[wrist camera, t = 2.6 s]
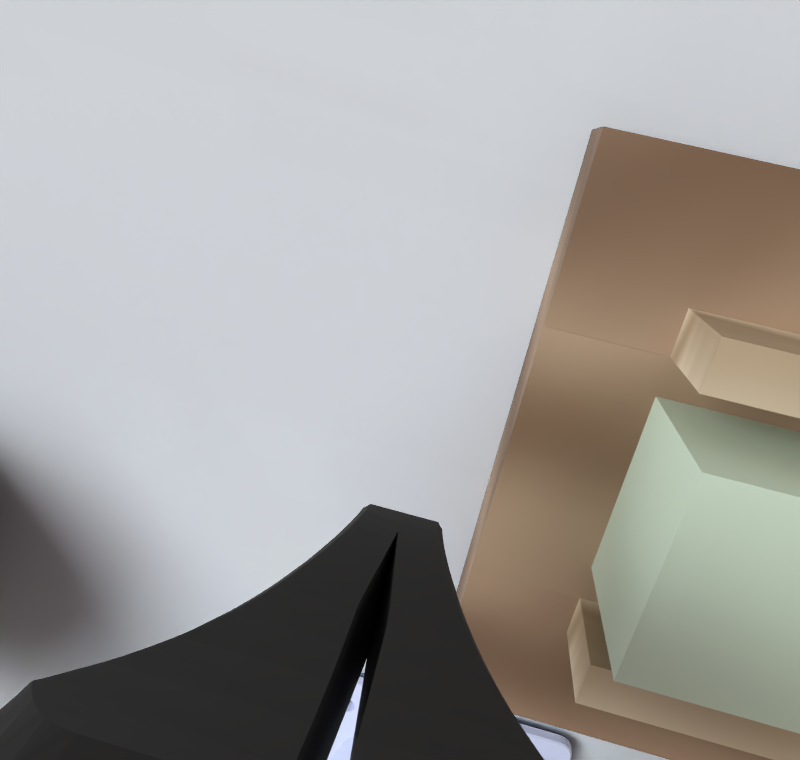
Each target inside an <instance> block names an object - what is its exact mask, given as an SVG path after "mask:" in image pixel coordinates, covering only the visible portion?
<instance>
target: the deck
mask: <svg viewBox="0 0 800 760" xmlns="http://www.w3.org/2000/svg"><path fill="white" fill-rule="evenodd" d="M655 397H660V398H664V399H668V400H672V401H676V402H680V403H684V404H688V405H692V406H696V407H700V408H705V409H709V410H713V411H717V412H721V413H725V414H729V415H733V416H737V417H741V418H745V419H749V420H753V421H757V422H761V423H765V424H769V425H773V426H777V427H781V428H785V429H789V430H793V431H797V432H800V169H795V168H790V167H786V166H781V165H777V164H772V163H768V162H763V161H758V160H754V159H749V158H745V157H740V156H736V155H731V154H726V153H722V152H717V151H713V150H708V149H704V148H699V147H694V146H690V145H685V144H681V143H676V142H672V141H667V140H662V139H658V138H653V137H649V136H644V135H640V134H635V133H630V132H626V131H621V130H617V129H612V128H608V127H600V128H597V129H593V130H592V132H591V135H590V139H589V142H588V146H587V149H586V152H585V156H584V159H583V163H582V166H581V169H580V173H579V176H578V180H577V183H576V186H575V190H574V193H573V197H572V200H571V204H570V207H569V210H568V214H567V217H566V221H565V224H564V227H563V231H562V234H561V238H560V241H559V244H558V248H557V251H556V255H555V258H554V261H553V265H552V268H551V272H550V275H549V279H548V282H547V285H546V289H545V292H544V296H543V299H542V302H541V306H540V309H539V313H538V316H537V319H536V323H535V326H534V330H533V333H532V336H531V340H530V343H529V347H528V350H527V354H526V357H525V360H524V364H523V367H522V371H521V374H520V377H519V381H518V384H517V388H516V391H515V394H514V398H513V401H512V405H511V408H510V411H509V415H508V418H507V422H506V425H505V428H504V432H503V435H502V439H501V442H500V446H499V449H498V452H497V456H496V459H495V463H494V466H493V469H492V473H491V476H490V480H489V483H488V486H487V490H486V493H485V497H484V500H483V503H482V507H481V510H480V514H479V517H478V521H477V524H476V527H475V531H474V534H473V538H472V541H471V544H470V548H469V551H468V555H467V558H466V561H465V565H464V568H463V572H462V575H461V578H460V582H459V585H458V589H457V592H456V593H457V596H458V599H459V602H460V605H461V608H462V611H463V614H464V616H465V619H466V621H467V624H468V626H469V629H470V631H471V633H472V636H473V638H474V641H475V643H476V645H477V647H478V650H479V652H480V654H481V656H482V658H483V660H484V662H485V664H486V666H487V668H488V670H489V672H490V674H491V676H492V678H493V680H494V682H495V683H496V685H497V687H498V689H499V691H500V692H501V694H502V696H503V698H504V699H505V701H506V703H507V704H508V706H509V708H510V710H511V711H512V713H513V714H515V715H518V716H522V717H525V718H529V719H532V720H535V721H539V722H542V723H546V724H549V725H553V726H556V727H559V728H563V729H566V730H570V731H573V732H577V733H580V734H584V735H587V736H590V737H594V738H597V739H601V740H604V741H608V742H611V743H614V744H618V745H621V746H625V747H628V748H632V749H635V750H639V751H642V752H645V753H649V754H652V755H656V756H659V757H663V758H666V759H669V760H800V734H799V733H795V732H792V731H788V730H785V729H781V728H778V727H774V726H771V725H767V724H764V723H760V722H757V721H753V720H750V719H746V718H742V717H739V716H735V715H732V714H728V713H725V712H721V711H718V710H714V709H711V708H707V707H704V706H700V705H697V704H693V703H690V702H686V701H682V700H679V699H675V698H672V697H668V696H665V695H661V694H658V693H654V692H651V691H647V690H644V689H640V688H637V687H633V686H630V685H626V684H623V683H619V682H615V681H614V679H613V674H612V669H611V664H610V659H609V654H608V649H607V644H606V639H605V634H604V629H603V624H602V619H601V614H600V609H599V604H598V599H597V594H596V589H595V584H594V579H593V574H592V569H591V567H592V565H593V562H594V559H595V557H596V554H597V551H598V549H599V546H600V543H601V541H602V538H603V535H604V533H605V530H606V527H607V525H608V522H609V519H610V517H611V514H612V511H613V509H614V506H615V503H616V501H617V498H618V495H619V493H620V490H621V487H622V485H623V482H624V479H625V477H626V474H627V471H628V469H629V466H630V464H631V461H632V458H633V456H634V453H635V450H636V448H637V445H638V442H639V440H640V437H641V434H642V432H643V429H644V426H645V424H646V421H647V418H648V416H649V413H650V410H651V408H652V405H653V402H654V400H655Z"/></svg>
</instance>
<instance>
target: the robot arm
mask: <svg viewBox="0 0 800 760" xmlns="http://www.w3.org/2000/svg"><path fill="white" fill-rule="evenodd" d="M366 659H367V661H366ZM365 661H366V667H365V673H364V678H363V677H360V674H361V672H362V669H363V667H364V664H365ZM350 701H352V702H350ZM571 757H572V750H571V744H570V742H569V741H568V740H567V739H566V738H565V737H563V736H561V735H558V734H555V733H551V732H548V731H545V730H541V729H538V728H534V727H531V726H527V725H524V724H521V723H519V722H518V721H517V719H516V718H515V716H514V715H513V713H512V711H511V710H510V708H509V706H508V704H507V703H506V701H505V699H504V698H503V696H502V694H501V692H500V691H499V689H498V687H497V685H496V683H495V682H494V680H493V678H492V676H491V674H490V672H489V670H488V668H487V666H486V664H485V662H484V660H483V658H482V656H481V654H480V652H479V650H478V647H477V645H476V643H475V641H474V638H473V636H472V633H471V631H470V629H469V626H468V624H467V621H466V619H465V616H464V614H463V611H462V608H461V605H460V602H459V599H458V596H457V593H456V590H455V587H454V584H453V581H452V578H451V574H450V571H449V567H448V563H447V558H446V554H445V549H444V544H443V536H442V528H441V527H440V525H439V523H438V522H435V521H432V520H428V519H424V518H420V517H417V516H413V515H409V514H406V513H402V512H398V511H395V510H391V509H387V508H383V507H380V506H376V505H372V504H370V505H368V506H366V507H364V508H363V509H362V510H361V511H360V513H359V514H358V515H357V516H356V517H355V518H354V519H353V520H352V521H351V522H350V523H349V524H348V525H347V526H346V527H345V528H344V529H343V530H342V531H341V532H340V533H339V534H338V535H337V536H336V537H335V538H334V539H332V540H331V541H330V542H329V543H328V544H327V545H325V546H324V547H323V548H322V549H321V550H319V551H318V552H317V553H316V554H315V555H314V556H312V557H311V558H310V559H309V560H307V561H306V562H305V563H303V564H302V565H301V566H299V567H298V568H297V569H295V570H294V571H292V572H291V573H290V574H288V575H287V576H286V577H284V578H283V579H281V580H280V581H279V582H277V583H276V584H274V585H273V586H271V587H270V588H268V589H267V590H265V591H263V592H262V593H260V594H259V595H257V596H255V597H254V598H252V599H250V600H249V601H247V602H245V603H243V604H242V605H240V606H238V607H237V608H235V609H233V610H231V611H229V612H227V613H225V614H223V615H221V616H219V617H217V618H215V619H213V620H211V621H209V622H207V623H205V624H203V625H201V626H199V627H197V628H195V629H193V630H191V631H189V632H186V633H184V634H182V635H179V636H177V637H174V638H172V639H169V640H167V641H164V642H162V643H159V644H156V645H154V646H151V647H148V648H145V649H142V650H140V651H137V652H134V653H131V654H128V655H125V656H122V657H119V658H116V659H113V660H109V661H106V662H103V663H99V664H95V665H92V666H88V667H84V668H80V669H77V670H73V671H69V672H66V673H62V674H58V675H55V676H51V677H47V678H43V679H38V680H34V681H32V682H30V683H29V684H28V685H27V686H26V687H25V688H24V689H23V690H22V691H21V692H20V693H19V694H18V695H17V696H16V697H14V698H13V699H12V700H11V701H10V702H9V703H7V704H6V705H5V706H4V707H3V708H2V709H1V710H0V760H571Z"/></svg>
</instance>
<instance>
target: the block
mask: <svg viewBox="0 0 800 760" xmlns="http://www.w3.org/2000/svg"><path fill="white" fill-rule="evenodd" d="M591 569H592V574H593V579H594V584H595V589H596V594H597V599H598V604H599V609H600V614H601V619H602V624H603V629H604V634H605V639H606V644H607V649H608V654H609V659H610V664H611V669H612V674H613V679H614V681H615V682H619V683H623V684H626V685H630V686H633V687H637V688H640V689H644V690H647V691H651V692H654V693H658V694H661V695H665V696H668V697H672V698H675V699H679V700H682V701H686V702H690V703H693V704H697V705H700V706H704V707H707V708H711V709H714V710H718V711H721V712H725V713H728V714H732V715H735V716H739V717H742V718H746V719H750V720H753V721H757V722H760V723H764V724H767V725H771V726H774V727H778V728H781V729H785V730H788V731H792V732H795V733H799V734H800V432H797V431H793V430H789V429H785V428H781V427H777V426H773V425H769V424H765V423H761V422H757V421H753V420H749V419H745V418H741V417H737V416H733V415H729V414H725V413H721V412H717V411H713V410H709V409H705V408H700V407H696V406H692V405H688V404H684V403H680V402H676V401H672V400H668V399H664V398H660V397H655V400H654V402H653V405H652V408H651V410H650V413H649V416H648V418H647V421H646V424H645V426H644V429H643V432H642V434H641V437H640V440H639V442H638V445H637V448H636V450H635V453H634V456H633V458H632V461H631V464H630V466H629V469H628V471H627V474H626V477H625V479H624V482H623V485H622V487H621V490H620V493H619V495H618V498H617V501H616V503H615V506H614V509H613V511H612V514H611V517H610V519H609V522H608V525H607V527H606V530H605V533H604V535H603V538H602V541H601V543H600V546H599V549H598V551H597V554H596V557H595V559H594V562H593V565H592V567H591Z"/></svg>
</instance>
